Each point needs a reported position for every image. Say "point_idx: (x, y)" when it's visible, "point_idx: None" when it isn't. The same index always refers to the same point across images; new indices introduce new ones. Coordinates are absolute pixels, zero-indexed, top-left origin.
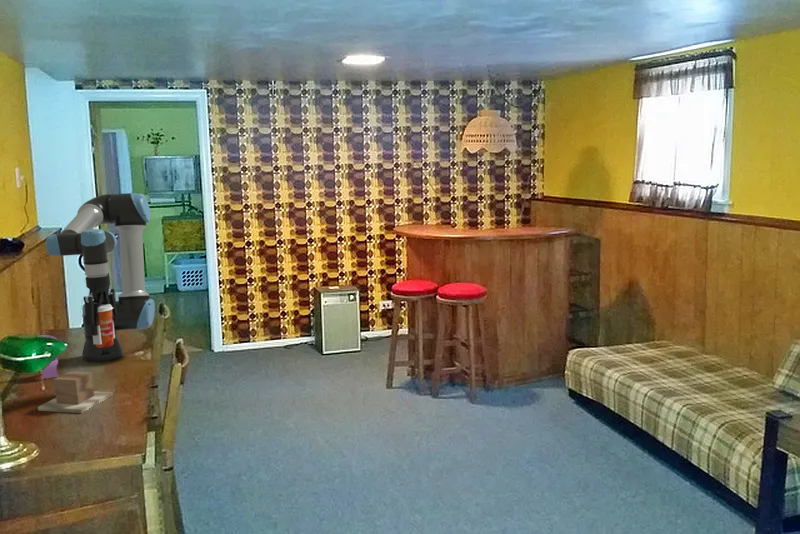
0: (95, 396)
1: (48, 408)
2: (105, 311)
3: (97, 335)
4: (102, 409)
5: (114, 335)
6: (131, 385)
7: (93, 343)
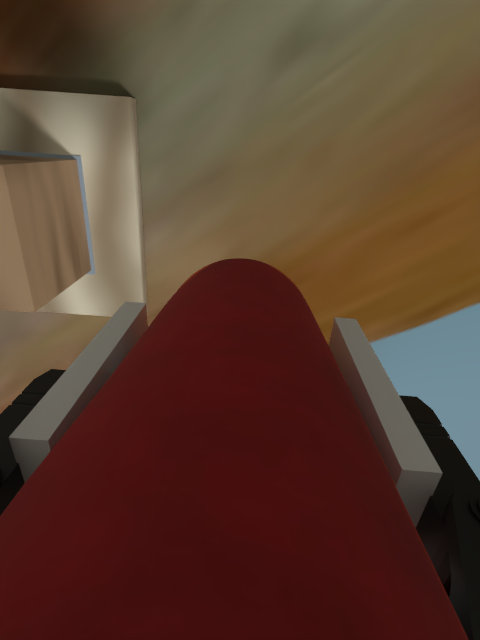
0: (87, 278)
1: None
2: None
3: None
4: (24, 347)
5: None
6: None
7: (123, 304)
